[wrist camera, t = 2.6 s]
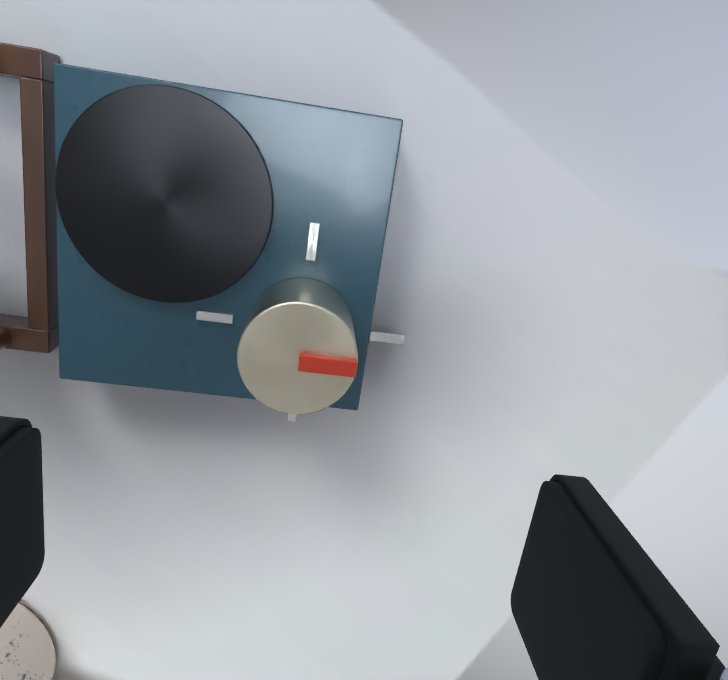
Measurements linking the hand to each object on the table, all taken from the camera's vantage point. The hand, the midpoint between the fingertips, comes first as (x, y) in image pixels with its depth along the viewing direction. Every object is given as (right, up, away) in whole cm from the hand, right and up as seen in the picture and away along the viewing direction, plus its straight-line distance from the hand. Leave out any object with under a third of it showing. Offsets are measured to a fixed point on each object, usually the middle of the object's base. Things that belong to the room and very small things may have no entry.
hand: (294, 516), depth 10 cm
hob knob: (-1, +4, +12) cm, 12 cm away
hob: (-4, +7, +13) cm, 15 cm away
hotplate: (-6, +8, +10) cm, 14 cm away
